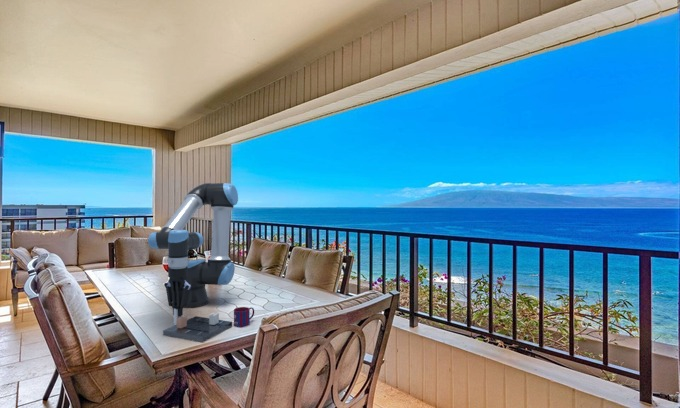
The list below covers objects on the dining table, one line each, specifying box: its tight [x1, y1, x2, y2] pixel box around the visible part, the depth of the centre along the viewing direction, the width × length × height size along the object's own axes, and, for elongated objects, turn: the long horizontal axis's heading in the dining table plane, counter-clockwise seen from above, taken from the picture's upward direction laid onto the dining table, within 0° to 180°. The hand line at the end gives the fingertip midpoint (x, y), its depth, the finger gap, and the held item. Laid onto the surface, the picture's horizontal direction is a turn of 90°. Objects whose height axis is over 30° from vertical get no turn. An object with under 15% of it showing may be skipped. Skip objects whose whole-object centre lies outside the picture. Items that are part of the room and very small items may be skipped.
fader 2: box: [208, 312, 220, 325], centre depth 145 cm, size 2×3×4 cm
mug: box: [233, 306, 255, 328], centre depth 151 cm, size 7×10×7 cm
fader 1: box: [177, 315, 188, 328], centre depth 140 cm, size 2×3×4 cm
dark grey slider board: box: [162, 315, 233, 343], centre depth 142 cm, size 20×18×2 cm
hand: (177, 323), depth 141 cm, fingers closed
